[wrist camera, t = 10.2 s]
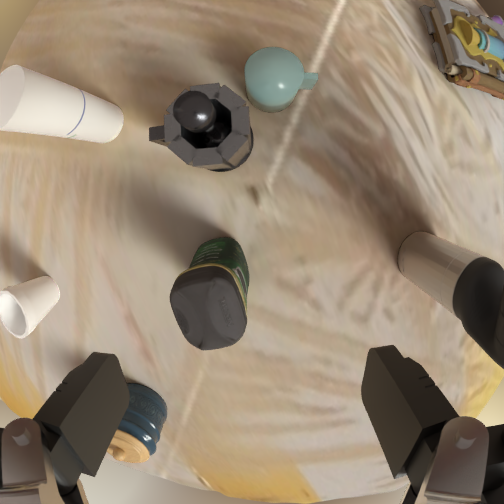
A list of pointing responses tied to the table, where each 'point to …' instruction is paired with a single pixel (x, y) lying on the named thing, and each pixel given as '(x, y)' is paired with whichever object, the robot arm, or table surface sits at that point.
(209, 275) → the coffee jar
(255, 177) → the table surface
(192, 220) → the table surface
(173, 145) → the faceted grey mug
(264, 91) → the teal mug
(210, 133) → the plunger
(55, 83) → the cylindrical container
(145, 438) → the canister
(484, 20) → the decorative book
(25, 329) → the foam cup
